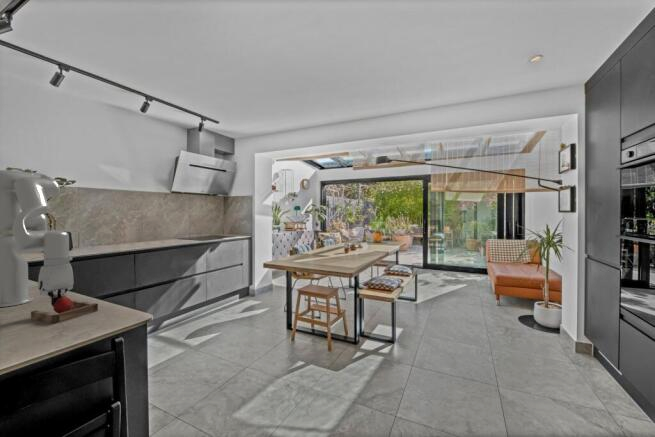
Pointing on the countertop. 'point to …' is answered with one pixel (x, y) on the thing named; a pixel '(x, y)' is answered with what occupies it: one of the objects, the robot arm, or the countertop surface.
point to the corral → (65, 313)
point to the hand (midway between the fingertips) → (57, 306)
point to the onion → (63, 304)
